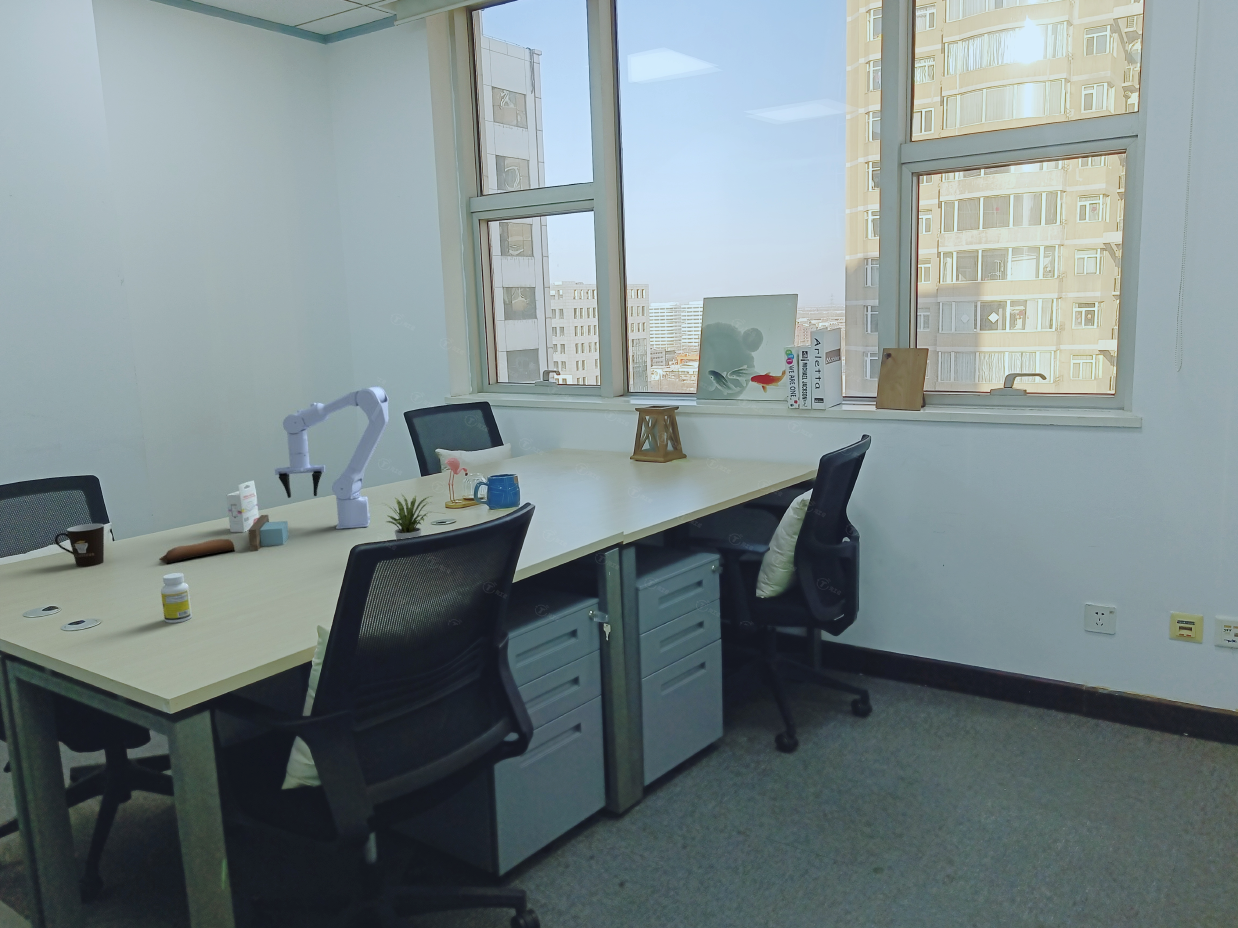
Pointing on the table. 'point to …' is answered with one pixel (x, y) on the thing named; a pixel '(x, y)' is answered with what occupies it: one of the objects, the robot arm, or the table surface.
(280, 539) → the teal block
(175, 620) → the supplement bottle
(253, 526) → the walnut board
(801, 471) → the table surface
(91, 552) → the coffee mug
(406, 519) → the house plant
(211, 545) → the sweet potato
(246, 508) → the ink cartridge box
